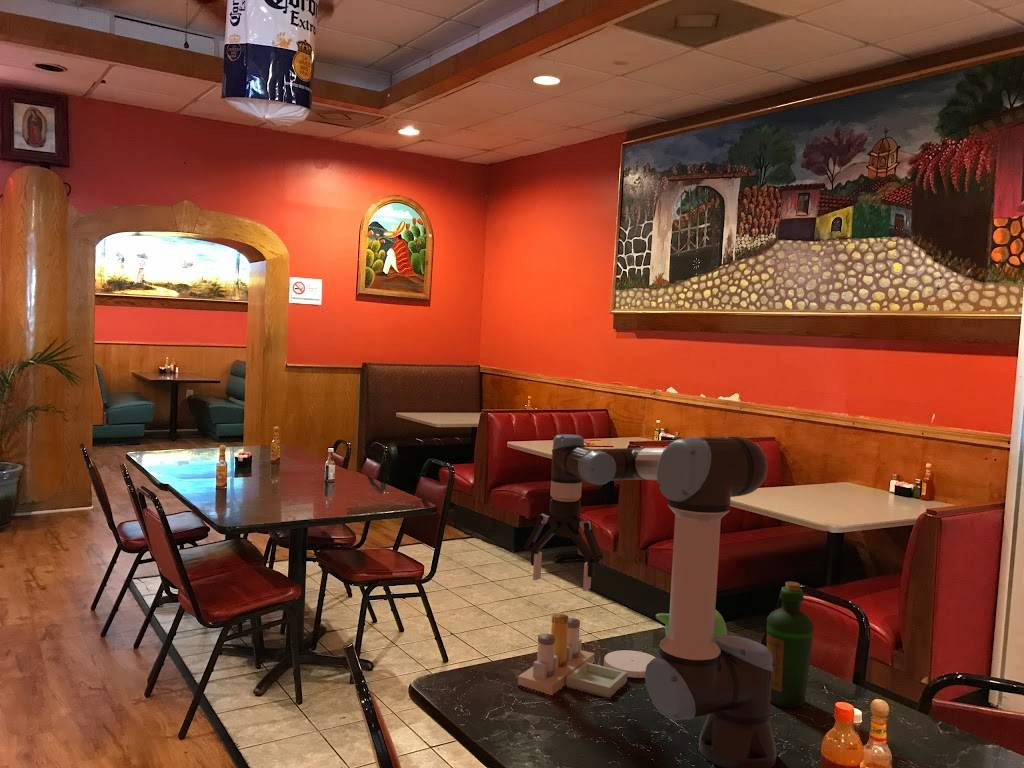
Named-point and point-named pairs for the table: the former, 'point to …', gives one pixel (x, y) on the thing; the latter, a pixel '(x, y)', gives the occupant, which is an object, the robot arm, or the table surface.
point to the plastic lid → (628, 662)
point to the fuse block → (555, 661)
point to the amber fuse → (560, 637)
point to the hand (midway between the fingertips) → (561, 584)
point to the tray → (596, 679)
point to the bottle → (789, 648)
